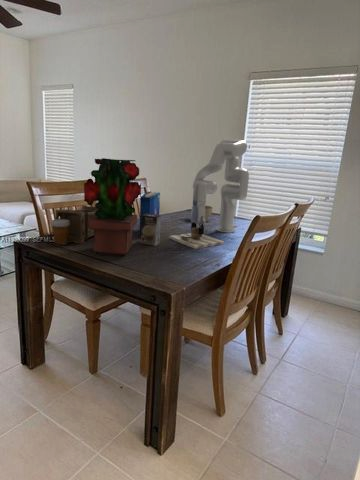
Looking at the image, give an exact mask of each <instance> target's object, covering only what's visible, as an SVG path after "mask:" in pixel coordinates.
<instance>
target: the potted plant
mask: <svg viewBox="0 0 360 480" xmlns="http://www.w3.org/2000/svg"><path fill="white" fill-rule="evenodd" d="M135 162H136V160H134V159H114V158H103V157H102V158H94V163H95V164H96V165H99V166H98V169H95V170H94V169H93V170H92V171H90V175H91V177H94V179H92V178H88V179H87V180H86V182H84V183H83V190H84V191H83V195H84V196H83V197H84V199H83V200H84V202H86V203H87V206H92V205H94V207H96V208H97V209H99V210H97V211H96V212H95V216H93V217H92V218H90V219H89V220H88V228H94V235H93V252H98V254H99V255H100V254H102V255H103V256H116V257H117V256H118V257H124V255H125V254H128V252H129V250H130V249H131V248H132V246H133V228H134V227H135V226H136V224H137V223H138V214H134V213H135V212H136V208H135V207H133V205H134V203H135V201H136V199H138V198H139V197H141V196H142V183H139V182H138V181H135V180H136V179H137V177H139V176H140V168H139V167H138V166H137V164H136V163H135ZM94 202H96V203H95V204H94Z"/></svg>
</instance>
